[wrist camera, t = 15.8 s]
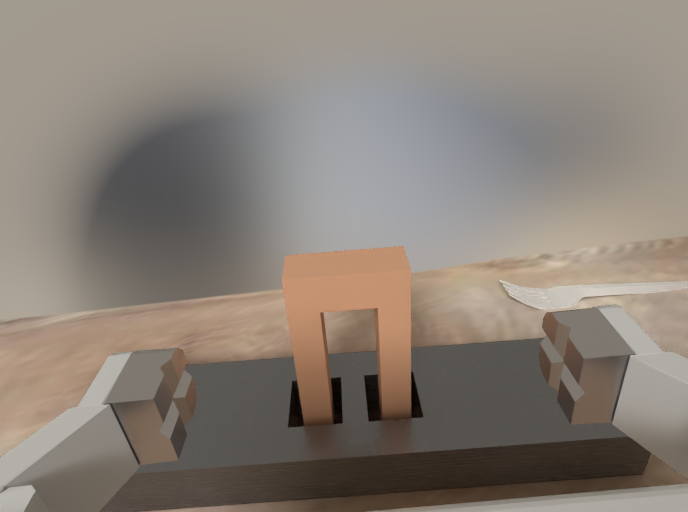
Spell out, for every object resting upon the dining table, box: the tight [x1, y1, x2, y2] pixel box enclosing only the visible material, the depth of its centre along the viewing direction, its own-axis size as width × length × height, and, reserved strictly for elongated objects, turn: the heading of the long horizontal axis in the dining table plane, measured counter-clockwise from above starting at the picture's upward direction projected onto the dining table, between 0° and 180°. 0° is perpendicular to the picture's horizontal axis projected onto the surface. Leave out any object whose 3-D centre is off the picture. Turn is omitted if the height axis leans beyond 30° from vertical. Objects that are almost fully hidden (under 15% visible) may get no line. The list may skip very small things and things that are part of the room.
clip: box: [282, 246, 411, 426], centre depth 26 cm, size 2×6×12 cm, turn 92°
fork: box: [499, 279, 688, 310], centre depth 40 cm, size 3×20×2 cm, turn 93°
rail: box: [99, 338, 651, 512], centre depth 28 cm, size 8×30×3 cm, turn 92°
